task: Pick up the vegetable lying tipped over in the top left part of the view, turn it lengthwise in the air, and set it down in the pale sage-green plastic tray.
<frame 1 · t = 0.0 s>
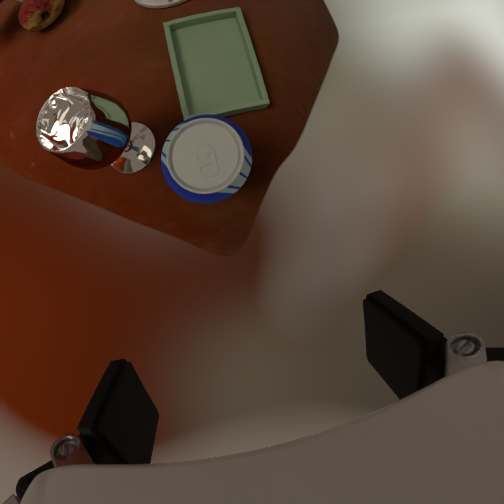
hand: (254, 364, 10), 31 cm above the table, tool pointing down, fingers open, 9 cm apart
beer can: (210, 168, 38), on the table
tray: (213, 64, 35), on the table
wineglass: (131, 147, 36), on the table
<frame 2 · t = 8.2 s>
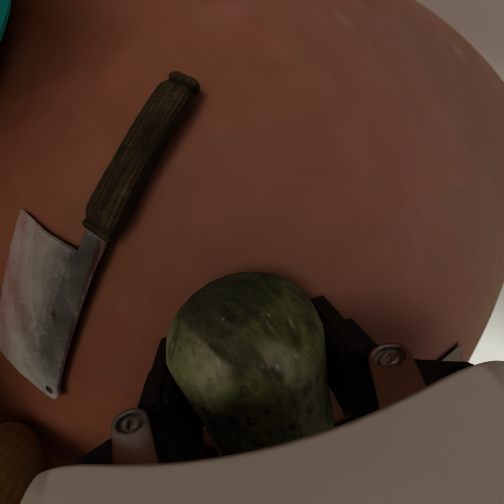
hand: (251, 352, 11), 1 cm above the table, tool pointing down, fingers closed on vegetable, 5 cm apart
vegetable: (341, 447, 8), point 4 cm above the table, touching gripper
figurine: (30, 426, 12), on the table, touching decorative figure
cleaver: (15, 216, 9), on the table
when the fingers open (2 cm above the table, at t = 19.7 s): vegetable drops 2 cm, resting on tray.
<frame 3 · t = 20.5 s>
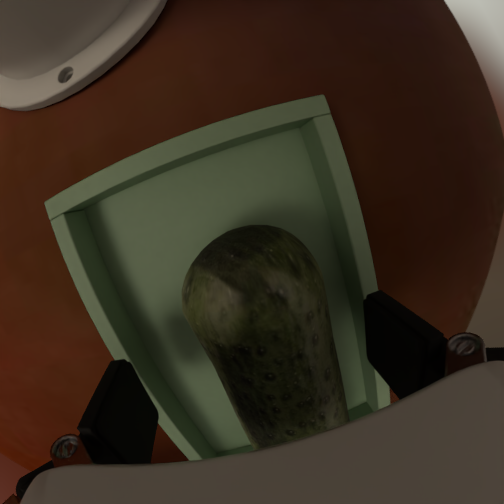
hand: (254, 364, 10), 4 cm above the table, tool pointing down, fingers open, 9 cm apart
tray: (248, 327, 14), on the table
vegetable: (350, 392, 9), point 5 cm above the table, touching tray
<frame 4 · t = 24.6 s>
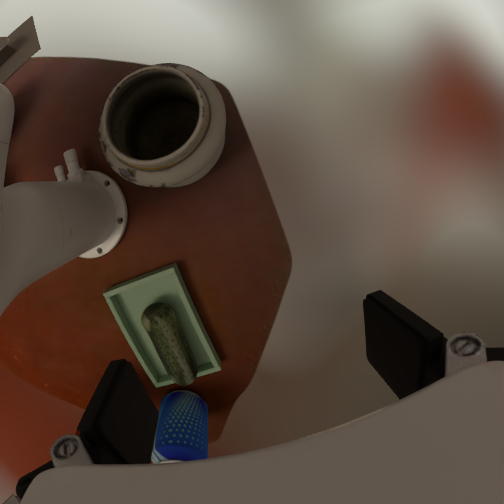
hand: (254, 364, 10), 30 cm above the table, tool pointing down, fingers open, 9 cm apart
platform: (2, 61, 27), on the table
beer can: (184, 403, 45), on the table
tray: (164, 327, 41), on the table
vegetable: (184, 348, 37), point 5 cm above the table, touching tray
apothecary jar: (180, 144, 36), on the table
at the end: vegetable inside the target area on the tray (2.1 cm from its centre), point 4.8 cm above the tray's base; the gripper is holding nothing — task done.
